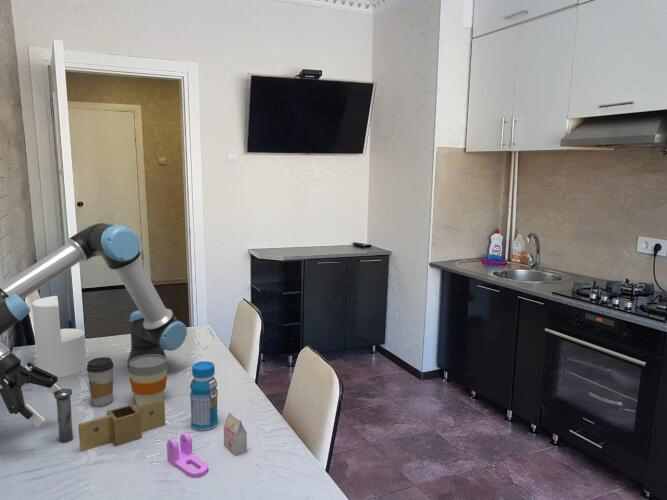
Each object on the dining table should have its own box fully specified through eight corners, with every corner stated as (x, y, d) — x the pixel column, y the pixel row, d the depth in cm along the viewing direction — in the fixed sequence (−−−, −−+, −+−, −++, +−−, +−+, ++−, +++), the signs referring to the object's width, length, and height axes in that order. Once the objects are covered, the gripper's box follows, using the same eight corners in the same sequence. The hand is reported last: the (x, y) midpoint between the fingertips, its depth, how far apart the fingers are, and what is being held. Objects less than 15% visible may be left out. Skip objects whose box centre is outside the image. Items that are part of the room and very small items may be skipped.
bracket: (167, 461, 138) (166, 438, 136) (185, 453, 142) (184, 430, 141) (194, 481, 129) (193, 456, 128) (212, 471, 133) (211, 447, 132)
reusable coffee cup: (176, 398, 175) (175, 357, 172) (149, 413, 164) (147, 370, 161) (149, 390, 180) (148, 351, 178) (121, 405, 169) (119, 363, 166)
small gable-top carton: (235, 441, 148) (234, 410, 146) (246, 451, 143) (246, 419, 141) (224, 445, 146) (223, 414, 144) (235, 456, 141) (235, 423, 139)
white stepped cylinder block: (37, 381, 186) (31, 308, 182) (37, 365, 201) (32, 298, 196) (88, 372, 195) (84, 303, 190) (85, 357, 210) (81, 293, 205)
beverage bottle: (194, 434, 152) (192, 372, 148) (188, 421, 159) (186, 362, 156) (221, 428, 155) (220, 367, 152) (214, 416, 163) (213, 358, 160)
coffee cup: (120, 399, 173) (118, 358, 170) (102, 410, 165) (100, 367, 163) (101, 395, 175) (99, 355, 173) (83, 406, 168) (80, 363, 165)
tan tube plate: (160, 419, 160) (159, 396, 158) (169, 428, 154) (168, 404, 153) (77, 445, 144) (75, 419, 143) (84, 456, 139) (82, 430, 137)
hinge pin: (72, 433, 150) (69, 387, 148) (76, 440, 147) (73, 392, 144) (55, 438, 147) (52, 391, 145) (59, 445, 144) (55, 396, 142)
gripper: (18, 354, 155) (69, 400, 158) (-42, 389, 131) (20, 443, 133) (34, 338, 154) (85, 385, 157) (-23, 370, 130) (38, 425, 132)
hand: (55, 412), depth 145 cm, fingers open, 13 cm apart
